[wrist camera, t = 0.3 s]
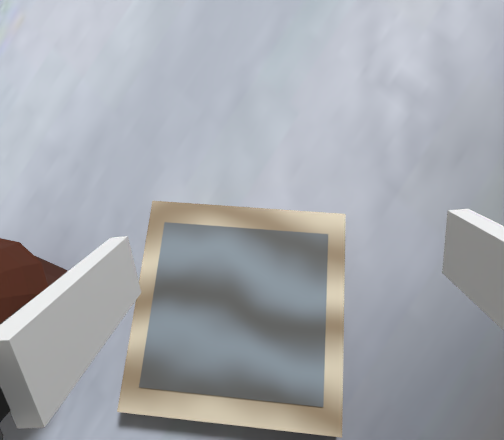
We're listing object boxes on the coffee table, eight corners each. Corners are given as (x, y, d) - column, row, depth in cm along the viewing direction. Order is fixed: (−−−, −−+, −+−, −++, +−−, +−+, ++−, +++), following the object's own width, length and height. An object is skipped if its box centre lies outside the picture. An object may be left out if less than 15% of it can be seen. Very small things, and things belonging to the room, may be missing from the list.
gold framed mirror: (337, 430, 26) (342, 437, 25) (125, 406, 28) (116, 412, 26) (341, 218, 31) (345, 213, 29) (157, 205, 32) (152, 200, 30)
